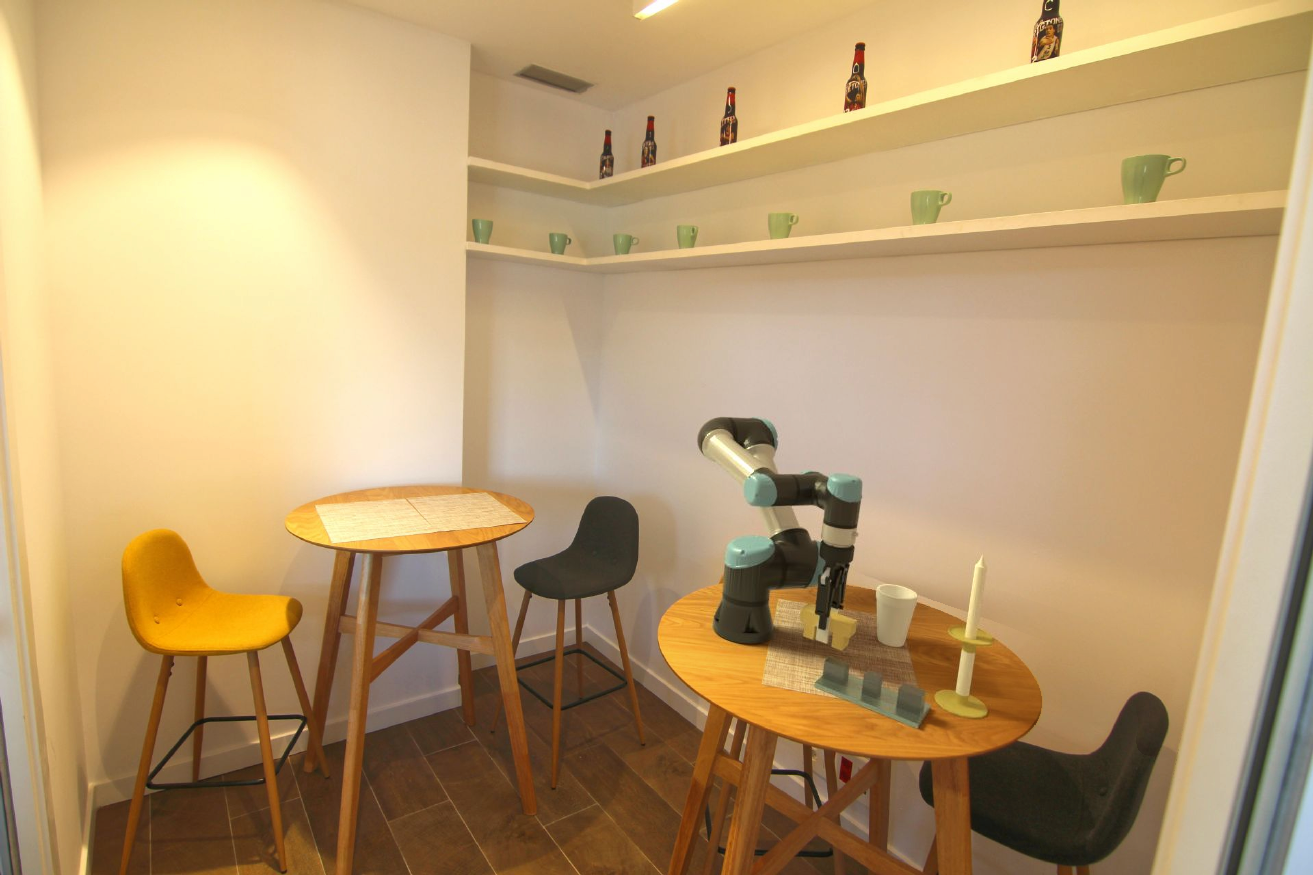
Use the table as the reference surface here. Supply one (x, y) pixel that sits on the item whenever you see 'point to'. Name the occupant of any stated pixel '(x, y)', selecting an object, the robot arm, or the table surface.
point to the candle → (968, 654)
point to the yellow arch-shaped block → (839, 626)
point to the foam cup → (894, 613)
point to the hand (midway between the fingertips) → (825, 637)
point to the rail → (873, 693)
